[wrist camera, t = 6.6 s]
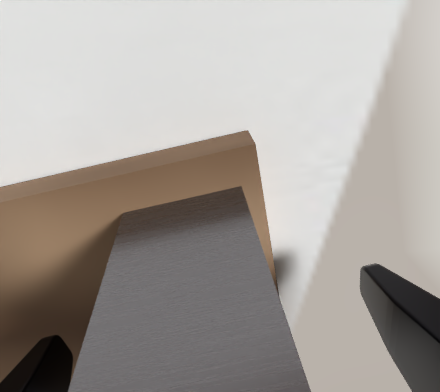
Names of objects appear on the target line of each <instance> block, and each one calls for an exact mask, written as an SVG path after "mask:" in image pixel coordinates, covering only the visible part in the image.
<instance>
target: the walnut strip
mask: <svg viewBox="0 0 440 392" xmlns="http://www.w3.org/2000/svg"><path fill="white" fill-rule="evenodd" d="M52 335H59V336H60V337H61V338H62V339H63V341H64V342H65V343H66V345H67V346H68V347H69V349H70V350H71V352H72V354H73V367H72V375H71V382H70V386H69V390H68V392H311V391H310V388H309V385H308V382H307V379H306V376H305V373H304V370H303V367H302V364H301V361H300V358H299V355H298V352H297V349H296V347H295V344H294V340H293V337H292V334H291V331H290V328H289V325H288V322H287V320H286V317H285V314H284V311H283V308H282V305H281V302H280V299H279V293H278V287H277V280H276V274H275V267H274V261H273V254H272V248H271V241H270V235H269V229H268V222H267V216H266V209H265V203H264V196H263V190H262V183H261V177H260V171H259V164H258V158H257V151H256V145H255V142H254V141H253V139H252V137H251V135H250V133H249V132H248V130H247V131H242V132H238V133H234V134H229V135H225V136H221V137H216V138H212V139H208V140H203V141H199V142H195V143H190V144H186V145H182V146H177V147H173V148H169V149H164V150H160V151H156V152H151V153H147V154H143V155H138V156H134V157H130V158H125V159H121V160H117V161H112V162H108V163H104V164H99V165H95V166H91V167H86V168H82V169H78V170H73V171H69V172H65V173H60V174H56V175H52V176H47V177H43V178H39V179H34V180H30V181H25V182H21V183H17V184H12V185H8V186H4V187H0V383H1V381H2V380H3V379H4V378H5V377H6V376H7V375H8V374H9V373H10V372H11V371H12V369H13V368H14V367H15V366H16V365H17V364H18V363H19V362H20V361H21V360H22V359H23V358H24V356H25V355H26V354H27V353H28V352H29V351H30V350H31V349H32V348H33V347H34V346H35V345H36V343H37V342H38V341H39V340H40V339H42V338H44V337H48V336H52Z"/></svg>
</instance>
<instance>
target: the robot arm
mask: <svg viewBox="0 0 440 392" xmlns="http://www.w3.org/2000/svg"><path fill="white" fill-rule="evenodd" d="M360 291H361V295H362V297H363V299H364V301H365V304H366V306H367V308H368V310H369V312H370V314H371V316H372V319H373V320H374V323H375V325H376V327H377V329H378V331H379V333H380V335H381V337H382V340H383V342H384V344H385V346H386V348H387V350H388V352H389V354H390V355H391V357H392V359H393V361H394V362H395V364H396V365H397V367H398V369H399V370H400V372H401V374H402V375H403V377H404V379H405V380H406V382H407V384H408V385H409V387H410V389H411V390H412V392H440V299H439V298H437V297H436V296H433V295H432V294H430V293H429V292H427V291H425V290H423V289H422V288H420V287H418V286H416V285H414V284H413V283H411V282H409V281H407V280H406V279H404V278H402V277H400V276H399V275H397V274H395V273H393V272H392V271H390V270H388V269H386V268H385V267H383V266H381V265H379V264H371V265H366V266H363V267H362V268H361V271H360ZM72 367H73V354H72V352H71V350H70V349H69V347H68V346H67V345H66V343H65V342H64V341H63V339H62V338H61V337H60V336H59V335H52V336H48V337H44V338H42V339H40V340H39V341H38V342H37V343H36V345H35V346H34V347H33V348H32V349H31V350H30V351H29V352H28V353H27V354H26V355H25V356H24V358H23V359H22V360H21V361H20V362H19V363H18V364H17V365H16V366H15V367H14V368H13V369H12V371H11V372H10V373H9V374H8V375H7V376H6V377H5V378H4V379H3V380H2V381H1V383H0V392H68V390H69V386H70V382H71V375H72Z"/></svg>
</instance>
